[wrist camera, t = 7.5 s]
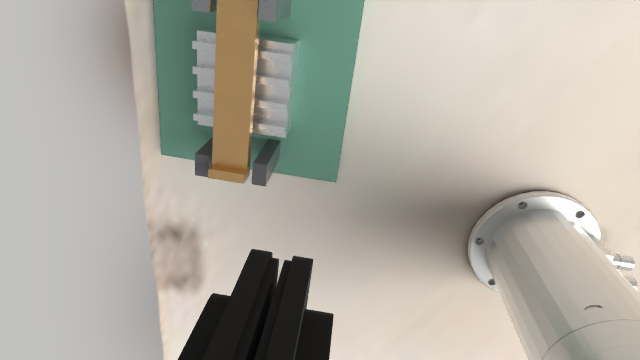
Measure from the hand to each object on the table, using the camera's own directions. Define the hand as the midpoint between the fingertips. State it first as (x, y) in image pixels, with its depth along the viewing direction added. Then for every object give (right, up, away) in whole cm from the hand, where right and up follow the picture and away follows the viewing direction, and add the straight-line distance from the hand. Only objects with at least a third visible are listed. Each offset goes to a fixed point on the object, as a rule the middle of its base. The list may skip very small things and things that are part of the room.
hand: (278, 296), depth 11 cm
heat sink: (-5, +14, +25) cm, 29 cm away
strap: (-6, +10, +22) cm, 25 cm away
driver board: (-5, +13, +27) cm, 30 cm away
